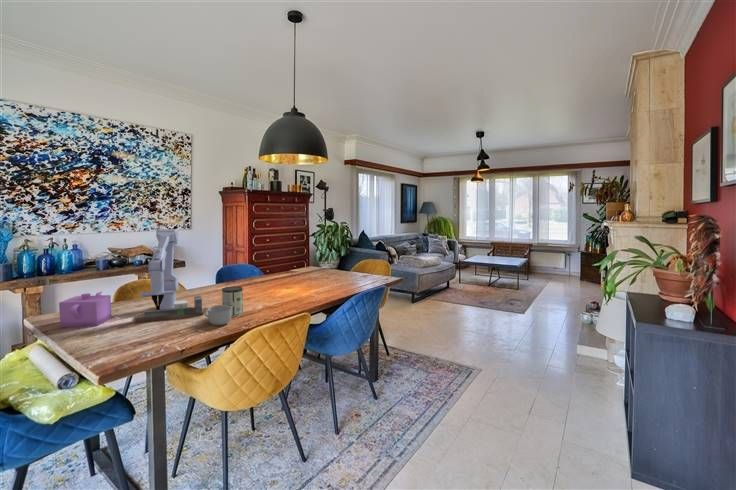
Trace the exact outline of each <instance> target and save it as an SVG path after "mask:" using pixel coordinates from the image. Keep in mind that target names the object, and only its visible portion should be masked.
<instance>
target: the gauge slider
mask: <svg viewBox="0 0 736 490" xmlns="http://www.w3.org/2000/svg"><path fill="white" fill-rule="evenodd" d="M187 307H188V300H176V301H174V308H173V309H182V308H187Z"/></svg>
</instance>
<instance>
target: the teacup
mask: <svg viewBox="0 0 736 490" xmlns="http://www.w3.org/2000/svg"><path fill="white" fill-rule="evenodd" d="M231 308H232V307H231V306H228V305H222V304H219V305H212V306H210V307H209V306H208V307H204V309H202V310H203V316H205V317H206V318H207V319H208V322H209V323H210V324H211V325H213V326H218V327H219V326H225V325H226V324H228V323H230V321H231V319H232V317H231Z"/></svg>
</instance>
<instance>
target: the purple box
mask: <svg viewBox="0 0 736 490" xmlns="http://www.w3.org/2000/svg"><path fill="white" fill-rule="evenodd" d="M102 293H103V291H99V292H96V294H95V295H91V293H89V292H87V293H86V292H85V293H81V294H80V295H75V296H72V297H70V298H68V299H67V298H66V299H64V300H62V301H60V302H59V303H58V307H59V308H58V309H59V323H60V327H59V328H72V327H74V328H79V327H82V328H83V327H98V326H100V325H102V324H103V323H106V322H107V321H108V320H111V319H112V300H111V299H112V298H111V294H106V295H102Z"/></svg>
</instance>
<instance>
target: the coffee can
mask: <svg viewBox="0 0 736 490" xmlns="http://www.w3.org/2000/svg"><path fill="white" fill-rule="evenodd" d="M243 289H244V288H243V287H242V286H226V287H223V288H221V293H222V294H221V295H222V298H221V299H222V304H221V305H228V306H231V307H232V308H231V318H235V317H239V316H242V315H243V314H244V312H243V311H244V310H243V309H244V308H243V303H244V301H243Z"/></svg>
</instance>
